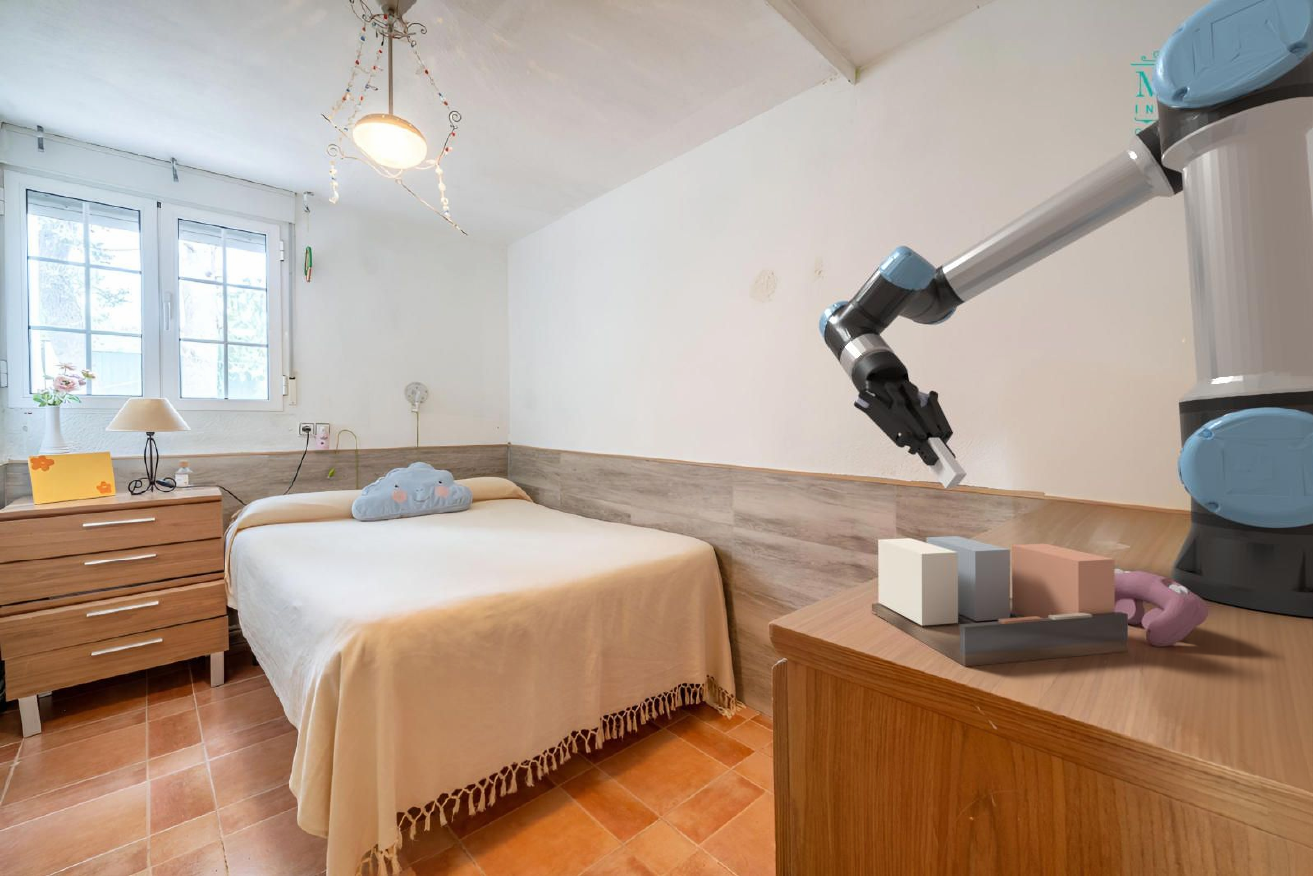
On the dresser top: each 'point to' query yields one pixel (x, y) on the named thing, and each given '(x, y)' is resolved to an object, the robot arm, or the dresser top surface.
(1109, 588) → the terracotta block
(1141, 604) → the video game controller
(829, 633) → the dresser top surface
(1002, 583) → the blue-grey block
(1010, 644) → the tray
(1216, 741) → the dresser top surface
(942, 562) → the cream white block
